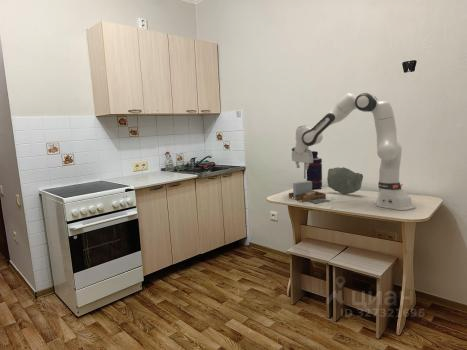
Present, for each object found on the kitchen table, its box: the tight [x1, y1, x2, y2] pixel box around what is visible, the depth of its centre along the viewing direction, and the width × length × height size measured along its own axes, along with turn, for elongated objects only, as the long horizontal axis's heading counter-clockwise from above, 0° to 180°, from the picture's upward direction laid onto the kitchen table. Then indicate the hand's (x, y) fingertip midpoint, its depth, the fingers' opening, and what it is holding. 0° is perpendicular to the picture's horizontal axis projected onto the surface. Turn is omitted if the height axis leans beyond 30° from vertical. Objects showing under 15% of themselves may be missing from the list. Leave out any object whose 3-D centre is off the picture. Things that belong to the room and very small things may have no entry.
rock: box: [326, 166, 364, 195], centre depth 236 cm, size 27×6×20 cm, turn 45°
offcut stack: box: [302, 192, 315, 198], centre depth 228 cm, size 4×10×4 cm, turn 115°
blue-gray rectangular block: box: [292, 180, 313, 199], centre depth 234 cm, size 4×14×11 cm, turn 115°
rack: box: [288, 189, 327, 203], centre depth 232 cm, size 17×20×4 cm
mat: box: [308, 198, 331, 205], centre depth 220 cm, size 7×13×1 cm, turn 115°
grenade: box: [303, 150, 323, 190], centre depth 264 cm, size 14×12×30 cm
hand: (302, 168), depth 232 cm, fingers open, 8 cm apart
